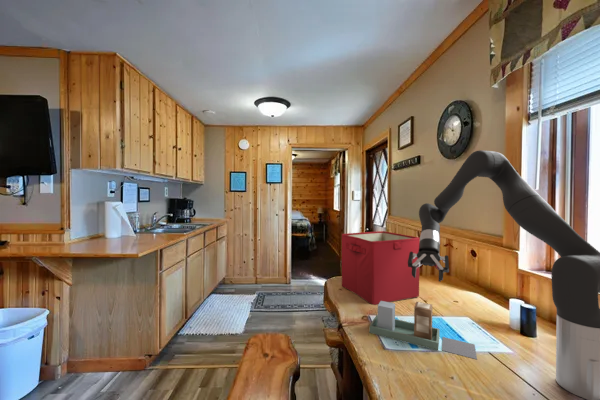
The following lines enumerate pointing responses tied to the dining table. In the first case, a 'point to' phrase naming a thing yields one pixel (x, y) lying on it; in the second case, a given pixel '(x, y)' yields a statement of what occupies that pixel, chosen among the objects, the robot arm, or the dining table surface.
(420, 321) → the label box
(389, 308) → the plain box
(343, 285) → the storage cube
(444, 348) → the slate pad
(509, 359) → the dining table surface
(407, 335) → the parts bin
